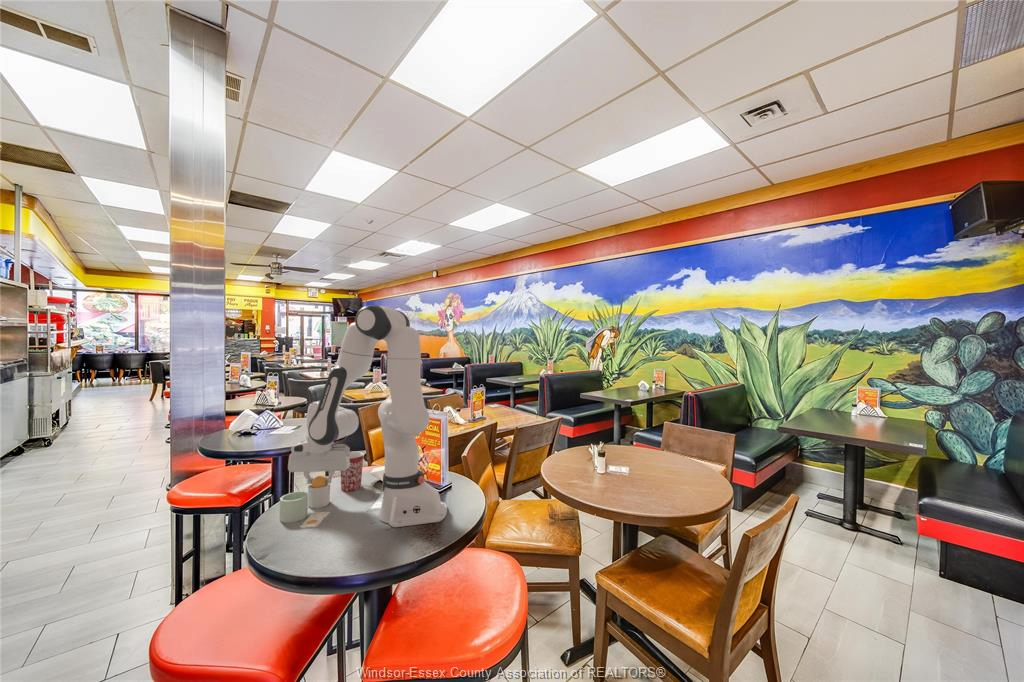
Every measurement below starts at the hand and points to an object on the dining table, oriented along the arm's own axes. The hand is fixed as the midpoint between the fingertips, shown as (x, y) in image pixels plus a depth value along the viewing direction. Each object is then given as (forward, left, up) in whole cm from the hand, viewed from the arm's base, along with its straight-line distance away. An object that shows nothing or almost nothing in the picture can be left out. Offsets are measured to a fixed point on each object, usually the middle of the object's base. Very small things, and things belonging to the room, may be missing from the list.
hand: (319, 483), depth 133 cm
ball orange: (0, 0, -2) cm, 2 cm away
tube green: (+4, +10, -7) cm, 13 cm away
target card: (-4, +13, -7) cm, 15 cm away
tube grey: (0, 0, -7) cm, 7 cm away
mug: (-7, -16, -8) cm, 19 cm away
